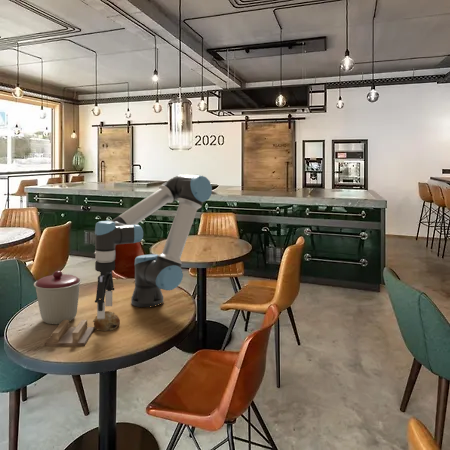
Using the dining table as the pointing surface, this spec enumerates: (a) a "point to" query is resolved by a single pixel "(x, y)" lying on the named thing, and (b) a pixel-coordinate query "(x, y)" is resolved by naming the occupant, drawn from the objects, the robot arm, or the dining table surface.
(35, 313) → the dining table surface
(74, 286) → the canister
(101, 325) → the bread roll
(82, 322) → the display stand
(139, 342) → the dining table surface
